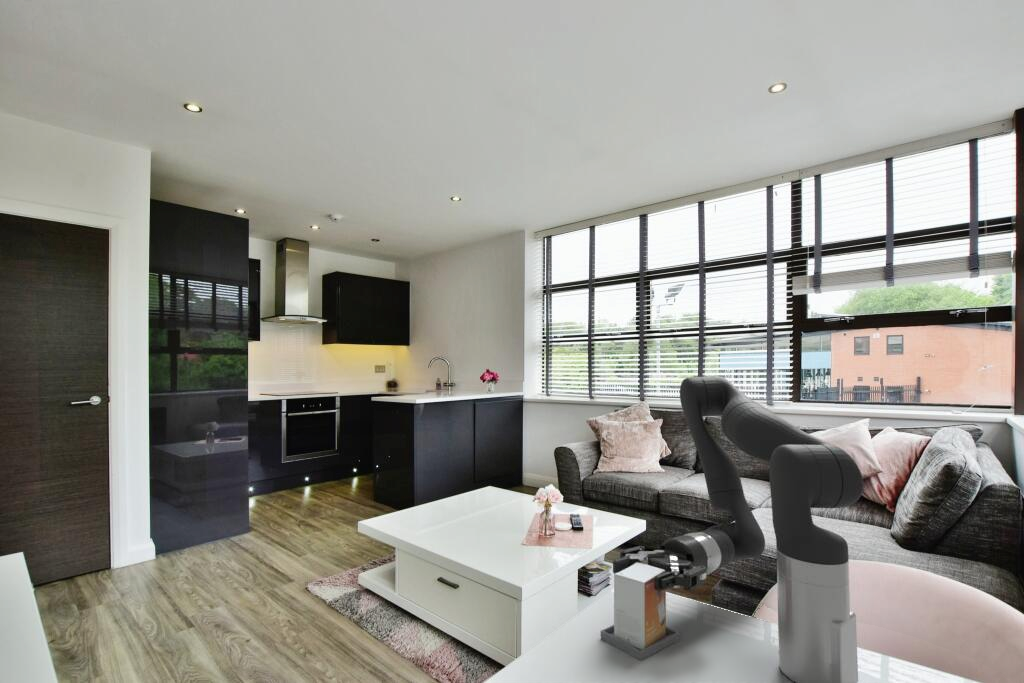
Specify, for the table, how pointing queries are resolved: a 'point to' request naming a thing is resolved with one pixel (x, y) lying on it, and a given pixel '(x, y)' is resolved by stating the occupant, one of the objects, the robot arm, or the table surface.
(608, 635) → the tray
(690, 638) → the table surface
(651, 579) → the small box
